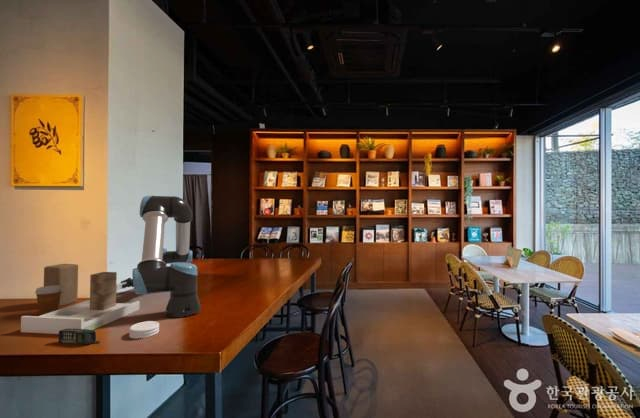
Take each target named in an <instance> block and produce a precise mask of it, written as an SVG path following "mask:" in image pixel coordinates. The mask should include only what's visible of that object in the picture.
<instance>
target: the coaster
mask: <svg viewBox="0 0 640 418" xmlns="http://www.w3.org/2000/svg"><path fill="white" fill-rule="evenodd" d="M128 332H129V335H128V337H129V338H130V339H132V338H133V339H132V340H141V339H140V338H143V339H147V338H146V337H148V338H151V337H154V336H155V334H156V335H157V334H158V333H159V332H160V323H159V321H155V320H147V321H142V322H138V323H134V324H132V325H131V326H130V327H129V330H128ZM153 335H154V336H153ZM150 336H151V337H150ZM138 338H139V339H138Z"/></svg>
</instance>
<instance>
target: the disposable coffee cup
mask: <svg viewBox="0 0 640 418" xmlns="http://www.w3.org/2000/svg"><path fill="white" fill-rule="evenodd" d="M62 289H63V288H62V286H61V285H52V286H44V285H43V286H40V287H37V288H36V290H35V292H34V293H35V294H36V301H37V307H38V314H39V315H38V316H41V315H44V314H47V313H50V312H53V311H56V310H59V307H58V306H59V301H60V295H61V291H62Z"/></svg>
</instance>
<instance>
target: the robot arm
mask: <svg viewBox="0 0 640 418" xmlns="http://www.w3.org/2000/svg"><path fill="white" fill-rule="evenodd" d="M139 218H142V220H143V221H144V223H145V225H144V233H143V235H144V236H143V245H142V253H141V261H140V262H138V264H137V266H136V267H135V268H133V269H132V278H131V277H128V278H126V279H124V280H121V281H120V283H116V292H117V291H119V290H122V289H127V288H130V287H131V288H133V290H134V293H135V294H136V295H150V294H159V293H169V299H168V302H167V305H166V308H165V314H164V315H165V316H166V317H167V318H173V317H174V318H175V317H179V318H185V317H184V316H187V317H190V316H189V315H191V316H193V315H192V314H195V313H197V312H199V311H200V310H201V309H202V308H201V307H202V306H201V302H200V300H199V297H198V275H199V274H198V266H197V265H196V264H194V263H191V262H193V250H190V240H191V222H192V221H193V211H192V209H191V206H190V205H189V203H187V201H185V200H184V199H183V198H181V197H180V196H179V197H178V196H174V195H173V196H166V195H165V196H163V195H145V196H143V197H142V199H141V202H140V205H139ZM169 218H173V219H174V220H173V221H174V222H175V250H173V251H171V250H168V249H167V248H164V242H165V241H164V240H165V236H164V235H165V223H167V221H169ZM167 250H168V251H167ZM167 264H170V266H169V265H167ZM200 312H201V311H200ZM200 312H199V313H200ZM197 314H198V313H197ZM195 315H196V314H195ZM174 318H173V319H174ZM175 319H176V318H175Z"/></svg>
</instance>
